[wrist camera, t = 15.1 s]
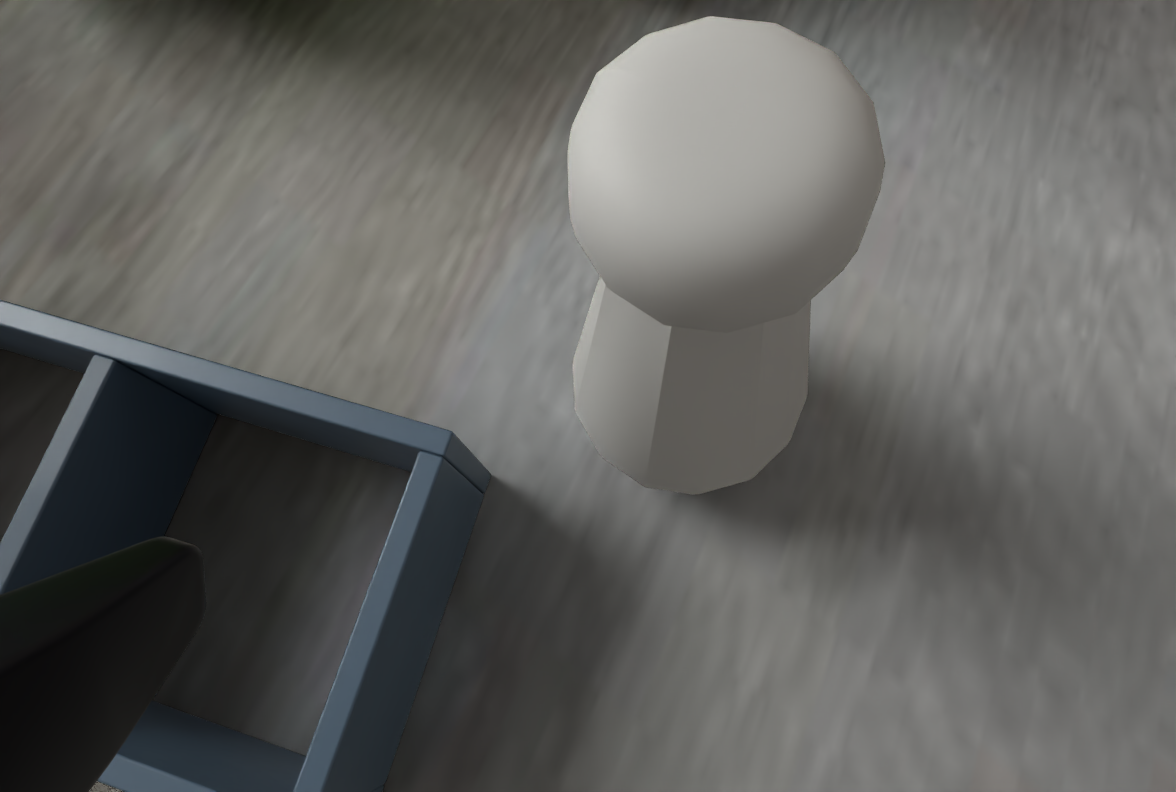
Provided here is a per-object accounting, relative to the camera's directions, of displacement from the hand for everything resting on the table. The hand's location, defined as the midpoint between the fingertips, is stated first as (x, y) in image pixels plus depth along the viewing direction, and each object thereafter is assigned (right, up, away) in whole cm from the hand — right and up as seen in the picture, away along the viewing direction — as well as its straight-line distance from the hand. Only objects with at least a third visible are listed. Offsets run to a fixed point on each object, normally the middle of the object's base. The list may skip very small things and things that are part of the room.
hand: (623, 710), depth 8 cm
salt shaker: (+2, +3, +15) cm, 15 cm away
